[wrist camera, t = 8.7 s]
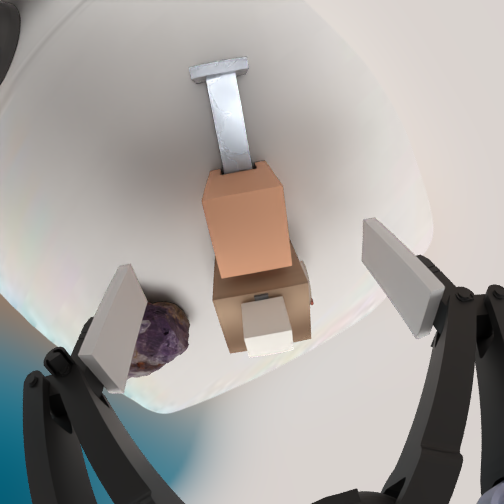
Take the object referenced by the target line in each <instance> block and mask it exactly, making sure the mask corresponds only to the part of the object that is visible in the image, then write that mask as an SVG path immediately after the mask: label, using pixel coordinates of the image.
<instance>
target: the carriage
mask: <svg viewBox="0 0 504 504" xmlns="http://www.w3.org/2000/svg"><path fill="white" fill-rule="evenodd" d="M255 168H256V169H251V170H245V171H239V172H234V173H229V174H224V175H222V173H221V169H217V170H212V171H210V173H209V177H208V180H207V183H206V187H205V190H204V194H203V198H202V205H203V209H204V213H205V217H206V221H207V225H208V229H209V233H210V237H211V241H212V245H213V248H214V252H215V256H216V260H217V264H218V267H219V271H220V275H221V278H222V279H223V278H228V277H234V276H239V275H245V274H250V273H256V272H261V271H267V270H272V269H278V268H283V267H288V266H292V258H291V249H290V241H289V232H288V224H287V215H286V207H285V200H284V192H283V186H282V184H281V183H280V181H279V180H278V178H277V177H276V175H275V174H274V173H273V171H272V170H271V168H270V167H269V165H268V164H267V163H266V161H261V162H255Z"/></svg>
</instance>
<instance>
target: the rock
mask: <svg viewBox="0 0 504 504" xmlns="http://www.w3.org/2000/svg"><path fill="white" fill-rule="evenodd" d="M189 326H190V324H189V320H188V318H187V317H186V316H185V313H184V312H183V310H182V309H180V308H179V307H178V306H177V305H175V304H174V303H168V302H157V303H154V304H151V303H150V302H147V305H146V309H145V312H144V315H143V319H142V322H141V326H140V329H139V333H138V337H137V341H136V344H135V348H134V352H133V356H132V360H131V364H130V368H129V372H128V377H127V379H129V378H131V377H140V376H147V375H150V374H151V373H152V372H154V371H156V370H159V369H160V368H161V367H163V366H164V365H165V364H166V363H169V362H170V361H172V360H173V359H174V358H175V357H176V356H178V355H179V354H180V355H181V354H182V353H183V352H184V351H185V350H186V349H187V348H188V345H189V344H188V337H189V333H188V332H189Z"/></svg>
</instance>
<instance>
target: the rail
mask: <svg viewBox="0 0 504 504" xmlns="http://www.w3.org/2000/svg"><path fill="white" fill-rule="evenodd" d="M248 69H249V66H248V61H247V57H240V58H233V59H227V60H222V61H216V62H211V63H206V64H201V65H197V66H193V67H189V71H190V76H191V79H192V80H193V81H194V82H195V83H197V84H198V83H202V82H207V88H208V93H209V98H210V103H211V108H212V113H213V118H214V123H215V129H216V134H217V139H218V144H219V149H220V154H221V159H222V164H223V169H224V173H225V174H229V173H234V172H239V171H245V170H251V169H252V163H251V157H250V152H249V146H248V140H247V135H246V129H245V123H244V118H243V112H242V107H241V101H240V96H239V90H238V85H237V80H236V76H239V75H246V73H247V71H248Z"/></svg>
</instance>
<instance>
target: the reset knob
mask: <svg viewBox="0 0 504 504" xmlns="http://www.w3.org/2000/svg"><path fill="white" fill-rule="evenodd" d="M241 307H242V320H243V332H244V340H245V344H246V348H247V351H248V355H249V358H254V357H260V356H266V355H272V354H277V353H282V352H287V351H293V350H294V347H293V337H292V329H291V325H290V321H289V318H288V314H287V310H286V307H285V303H284V299H283V296H280V297H275V298H270V299H264V300H259V301H253V302H248V303H242V304H241Z"/></svg>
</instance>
